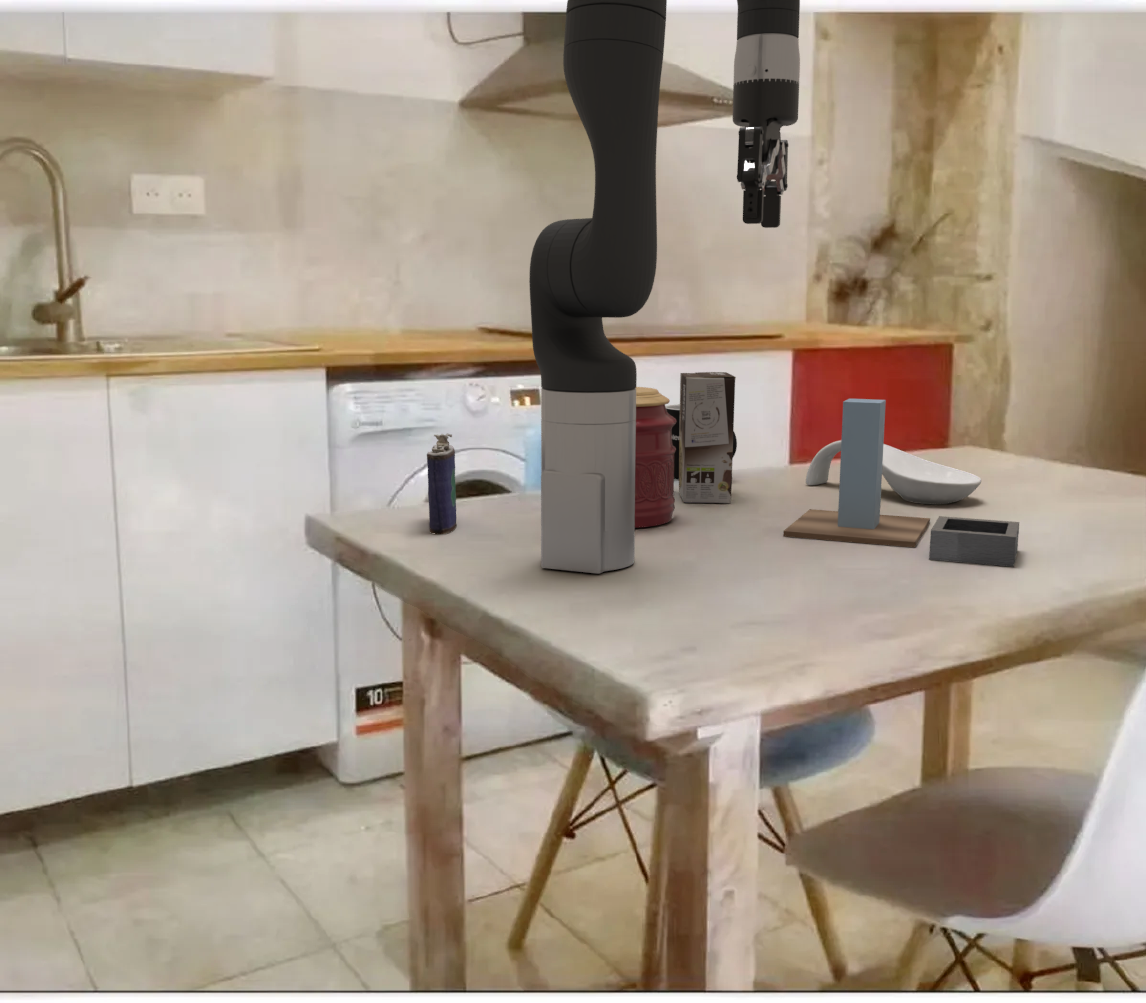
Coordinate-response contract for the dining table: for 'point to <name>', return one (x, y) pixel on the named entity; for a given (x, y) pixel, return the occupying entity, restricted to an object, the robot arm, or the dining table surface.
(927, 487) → the spoon rest
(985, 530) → the collar
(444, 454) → the flask
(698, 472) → the coffee box
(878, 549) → the dining table surface
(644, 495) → the canister
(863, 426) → the peg
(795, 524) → the board
